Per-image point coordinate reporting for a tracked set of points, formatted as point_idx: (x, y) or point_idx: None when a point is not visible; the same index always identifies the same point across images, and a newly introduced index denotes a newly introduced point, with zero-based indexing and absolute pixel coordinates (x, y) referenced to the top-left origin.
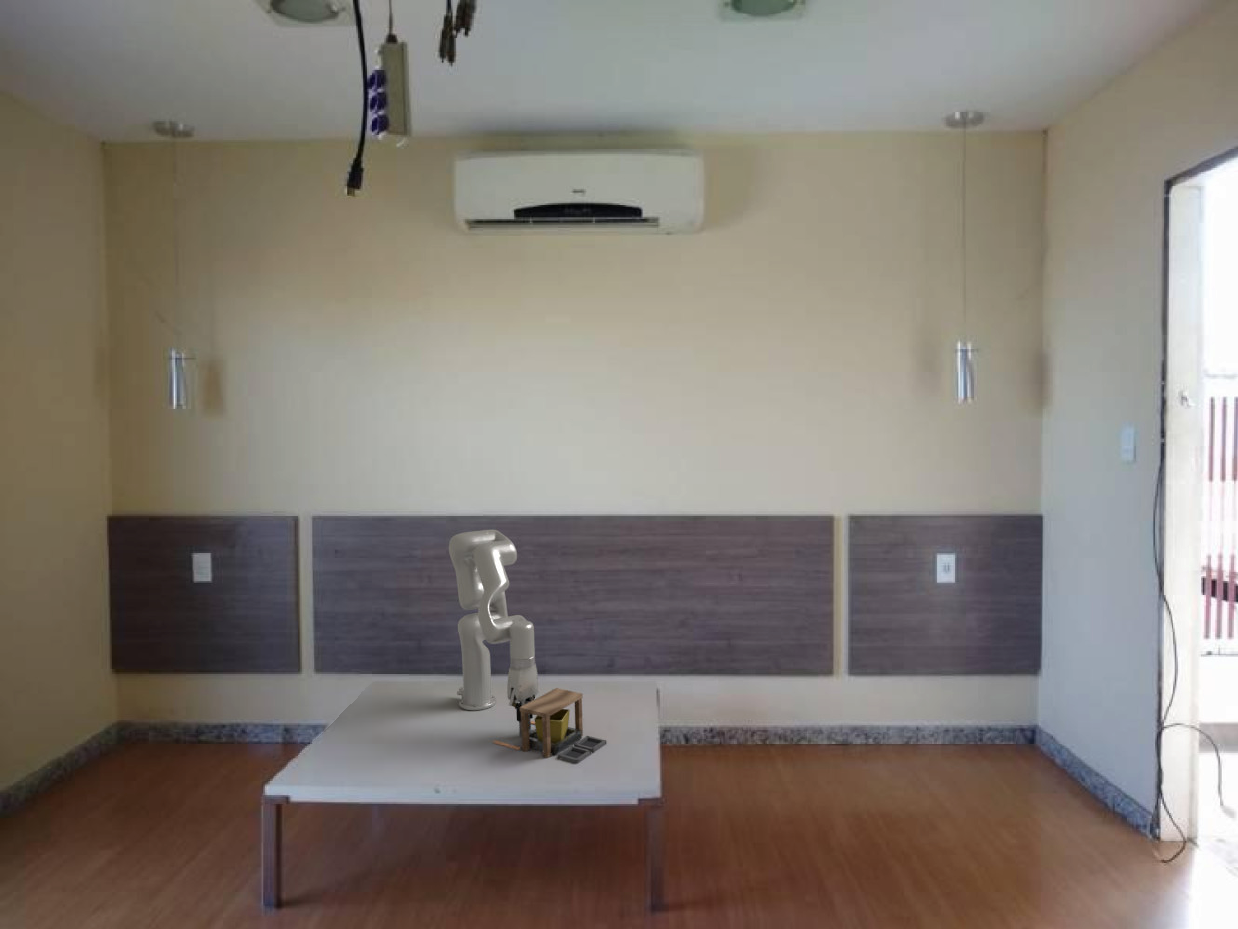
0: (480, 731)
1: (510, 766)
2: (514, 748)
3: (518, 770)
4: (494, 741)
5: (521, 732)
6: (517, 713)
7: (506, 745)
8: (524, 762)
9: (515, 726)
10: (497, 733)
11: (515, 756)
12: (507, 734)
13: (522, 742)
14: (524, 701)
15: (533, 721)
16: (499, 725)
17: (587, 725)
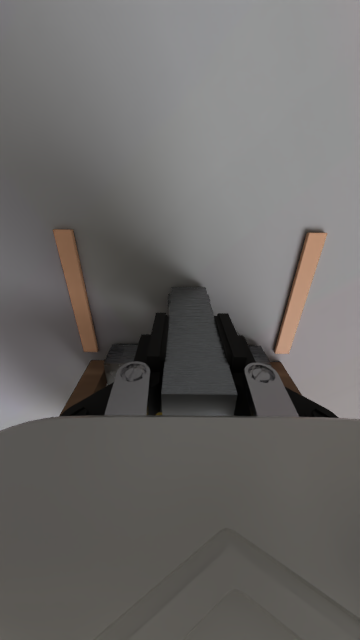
0: (97, 13)
1: (4, 387)
2: (81, 336)
3: (10, 410)
4: (60, 233)
5: (168, 306)
6: (135, 357)
7: (72, 303)
8: (48, 400)
9: (251, 196)
10: (140, 165)
11: (51, 365)
12: (158, 225)
13: (80, 382)
14: (217, 411)
15: (321, 249)
16: (231, 82)
17: (330, 409)
